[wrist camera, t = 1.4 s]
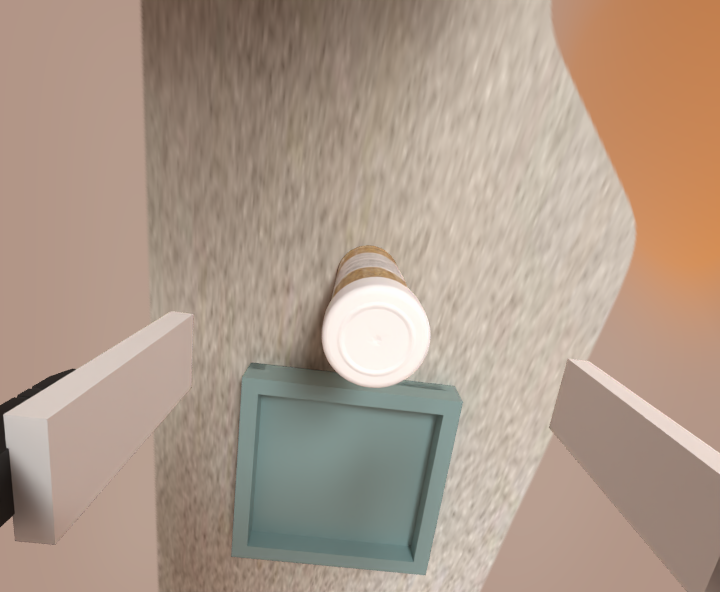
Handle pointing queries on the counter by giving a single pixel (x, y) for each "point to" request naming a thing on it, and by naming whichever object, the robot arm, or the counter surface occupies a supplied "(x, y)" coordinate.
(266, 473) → the tray
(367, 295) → the sprinkles bottle
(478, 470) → the counter surface
